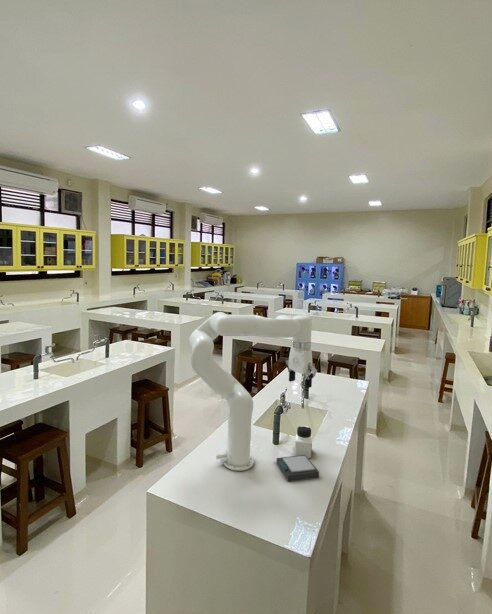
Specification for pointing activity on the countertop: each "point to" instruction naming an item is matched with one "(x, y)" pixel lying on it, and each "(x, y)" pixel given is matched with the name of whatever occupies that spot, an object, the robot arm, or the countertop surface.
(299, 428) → the medicine bottle
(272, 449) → the countertop surface
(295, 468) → the lab scale
